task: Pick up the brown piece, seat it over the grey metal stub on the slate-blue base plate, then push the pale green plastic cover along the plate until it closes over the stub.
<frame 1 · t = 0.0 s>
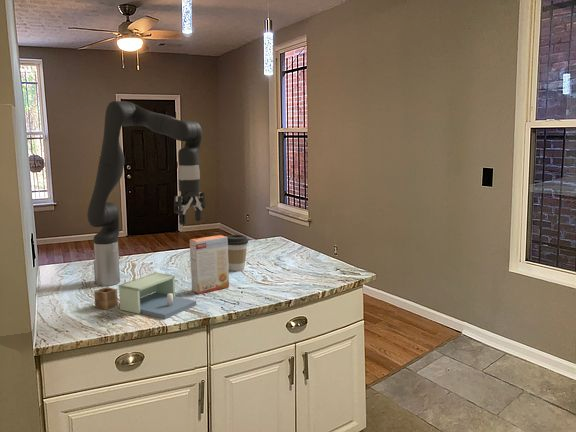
hand: (190, 222, 182), 29 cm above the worktop, fingers open, 8 cm apart
coffee cup: (236, 269, 229), on the worktop
cracker box: (210, 289, 200), on the worktop
brown piece: (106, 306, 181), on the worktop
cover: (148, 292, 182), point 5 cm above the worktop, slide at 0.0 cm
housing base: (159, 306, 180), on the worktop
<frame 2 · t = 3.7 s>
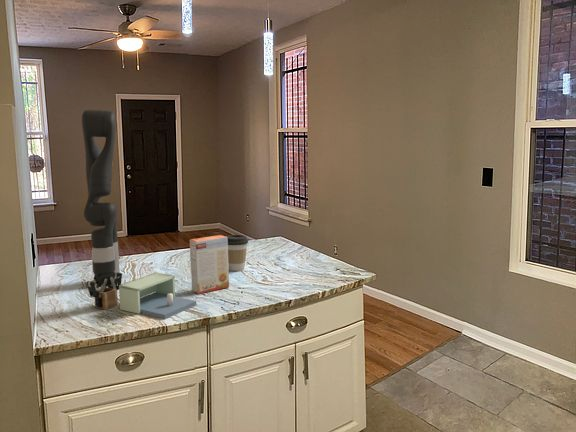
hand: (106, 304, 181), 1 cm above the worktop, fingers closed on brown piece, 5 cm apart
brown piece: (106, 306, 181), on the worktop, touching gripper
everything else where it was.
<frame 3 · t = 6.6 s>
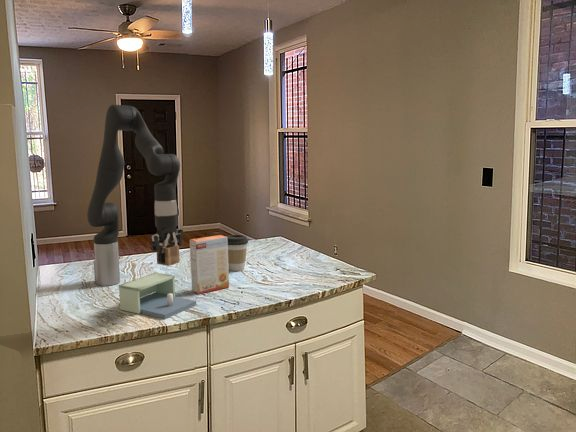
hand: (168, 261, 175), 17 cm above the worktop, fingers closed on brown piece, 5 cm apart
brown piece: (168, 263, 175), point 17 cm above the worktop, touching gripper
everything else where it was.
when the fingers open (3 cm above the worktop, at t = 9.8 s): brown piece stays where it is, resting on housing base.
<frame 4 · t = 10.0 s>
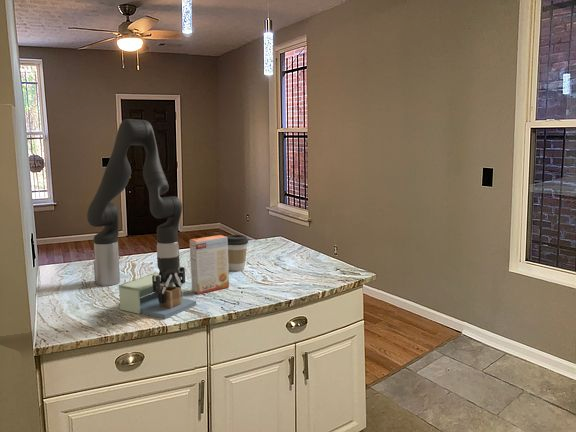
hand: (170, 299, 177), 3 cm above the worktop, fingers open, 7 cm apart
brown piece: (170, 305, 178), point 1 cm above the worktop, touching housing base
everything else where it was.
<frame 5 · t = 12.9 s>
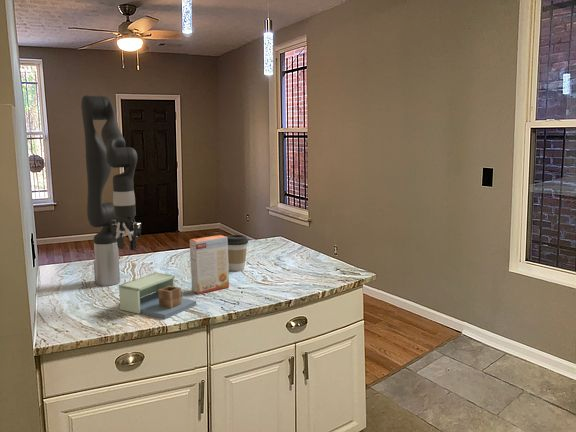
hand: (126, 249, 184), 19 cm above the worktop, fingers open, 5 cm apart
nothing on the worktop moved.
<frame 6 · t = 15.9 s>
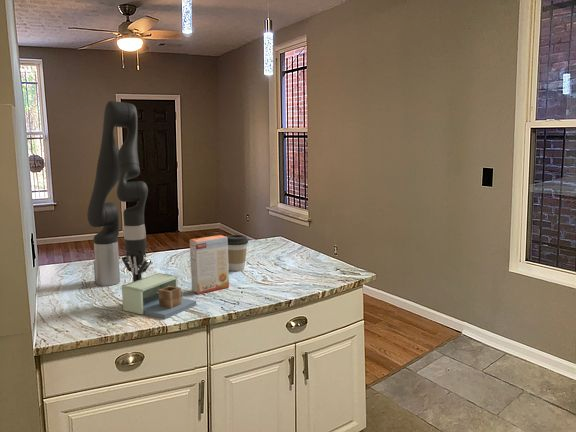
hand: (137, 283, 184), 7 cm above the worktop, fingers closed
cover: (150, 292, 181), point 5 cm above the worktop, slide at 1.4 cm, touching gripper
everything else where it was.
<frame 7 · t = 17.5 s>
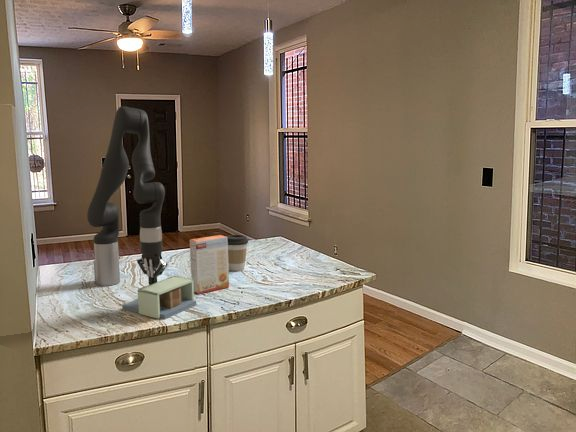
hand: (153, 286, 180), 7 cm above the worktop, fingers closed
cover: (166, 296, 178), point 5 cm above the worktop, slide at 9.1 cm, touching gripper
everything else where it was.
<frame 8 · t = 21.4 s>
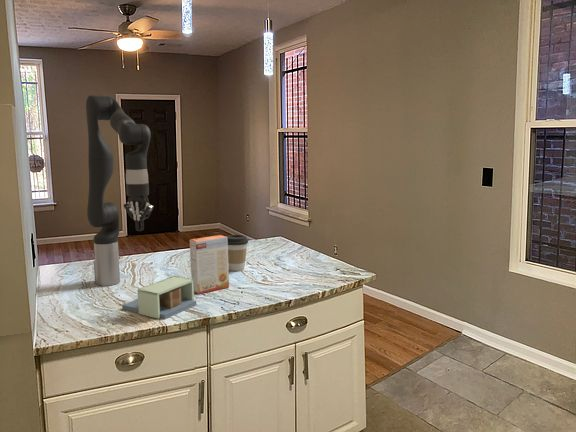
hand: (139, 230, 180), 27 cm above the worktop, fingers closed
cover: (166, 296, 178), point 5 cm above the worktop, slide at 9.0 cm
everything else where it was.
at the end: brown piece 0.0 cm from the target spot on the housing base, point 1.5 cm above the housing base's base; cover slide at 9.0 cm; brown piece tilted 0° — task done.
